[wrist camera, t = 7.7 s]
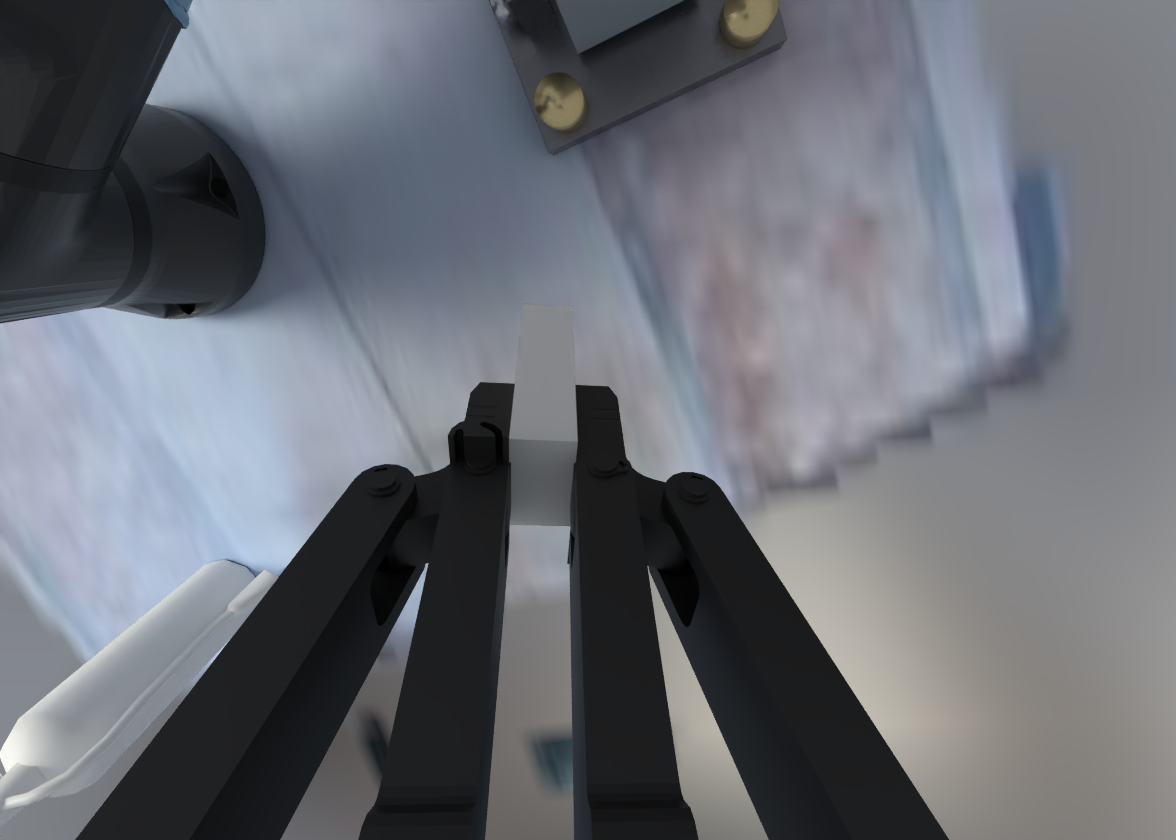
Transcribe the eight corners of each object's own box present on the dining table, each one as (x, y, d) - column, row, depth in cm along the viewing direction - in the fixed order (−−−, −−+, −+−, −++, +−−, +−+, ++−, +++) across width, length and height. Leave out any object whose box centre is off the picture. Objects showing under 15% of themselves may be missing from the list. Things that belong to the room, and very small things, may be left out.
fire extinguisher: (311, 604, 55) (56, 887, 31) (207, 628, 57) (-104, 910, 34) (279, 543, 53) (-18, 797, 29) (173, 571, 55) (-181, 827, 32)
